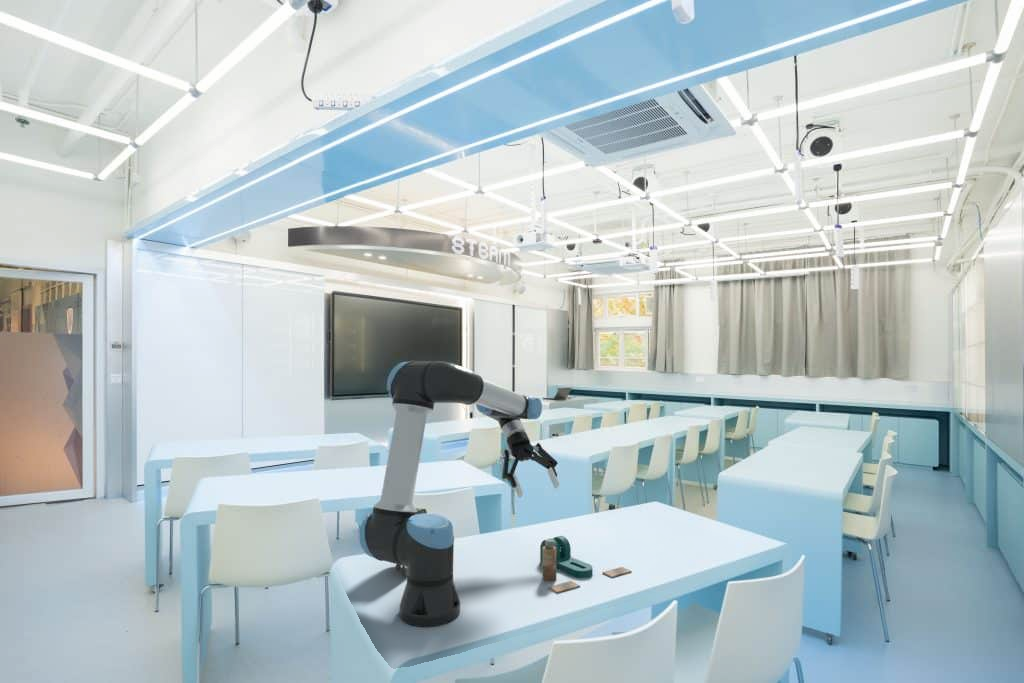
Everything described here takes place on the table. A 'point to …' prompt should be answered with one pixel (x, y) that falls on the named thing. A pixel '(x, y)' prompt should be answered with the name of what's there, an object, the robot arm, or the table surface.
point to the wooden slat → (572, 585)
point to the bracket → (567, 559)
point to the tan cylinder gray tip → (549, 562)
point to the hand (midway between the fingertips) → (539, 491)
